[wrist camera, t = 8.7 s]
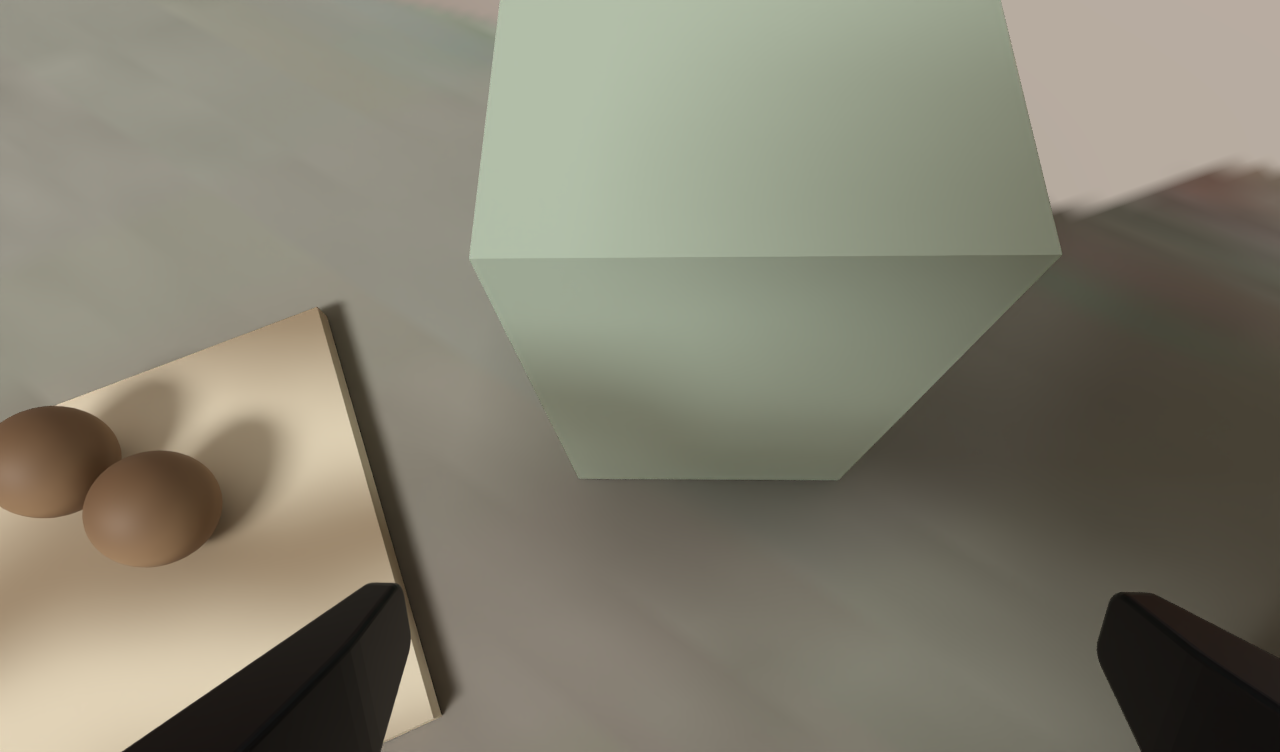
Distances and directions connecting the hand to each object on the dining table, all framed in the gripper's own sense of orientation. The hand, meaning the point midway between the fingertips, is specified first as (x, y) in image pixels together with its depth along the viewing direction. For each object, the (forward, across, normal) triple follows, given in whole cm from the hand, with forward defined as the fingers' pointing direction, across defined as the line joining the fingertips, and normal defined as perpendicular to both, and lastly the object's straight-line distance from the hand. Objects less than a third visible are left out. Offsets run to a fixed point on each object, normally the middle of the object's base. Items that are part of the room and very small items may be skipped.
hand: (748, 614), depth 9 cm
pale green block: (+10, 0, 0) cm, 10 cm away
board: (+6, +13, +5) cm, 16 cm away
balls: (+7, +14, +3) cm, 16 cm away
